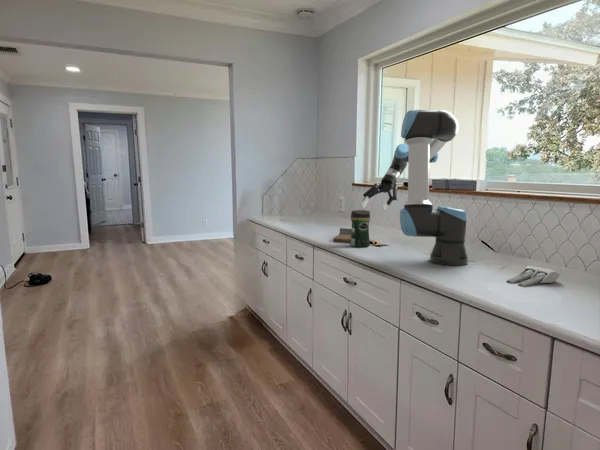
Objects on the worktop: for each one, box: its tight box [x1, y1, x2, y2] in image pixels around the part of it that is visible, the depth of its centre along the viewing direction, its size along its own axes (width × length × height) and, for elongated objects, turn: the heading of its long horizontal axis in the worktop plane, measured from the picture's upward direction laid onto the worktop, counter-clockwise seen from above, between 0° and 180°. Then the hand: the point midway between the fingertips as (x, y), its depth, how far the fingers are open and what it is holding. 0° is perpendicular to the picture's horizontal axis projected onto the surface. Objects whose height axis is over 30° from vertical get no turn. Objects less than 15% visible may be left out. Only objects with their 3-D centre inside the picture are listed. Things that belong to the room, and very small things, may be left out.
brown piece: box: [332, 227, 352, 244], centre depth 211 cm, size 20×14×5 cm
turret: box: [506, 265, 561, 288], centre depth 133 cm, size 10×20×5 cm, turn 115°
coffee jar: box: [349, 209, 371, 248], centre depth 192 cm, size 10×8×19 cm
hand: (372, 207), depth 198 cm, fingers open, 13 cm apart
